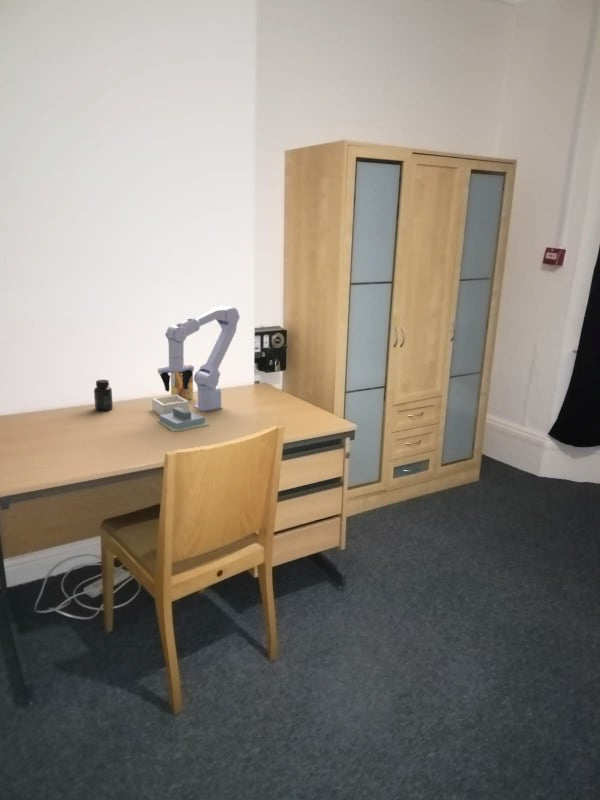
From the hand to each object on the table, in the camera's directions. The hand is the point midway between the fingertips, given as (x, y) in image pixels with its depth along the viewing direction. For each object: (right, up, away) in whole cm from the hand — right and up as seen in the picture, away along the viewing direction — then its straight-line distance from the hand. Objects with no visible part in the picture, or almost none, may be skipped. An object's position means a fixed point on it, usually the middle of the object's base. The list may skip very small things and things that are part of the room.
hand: (176, 389), depth 228 cm
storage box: (-4, -9, +7) cm, 12 cm away
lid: (+4, -13, -7) cm, 15 cm away
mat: (+4, -13, -7) cm, 15 cm away
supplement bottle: (-31, -8, +6) cm, 33 cm away
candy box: (-3, -4, +24) cm, 25 cm away
